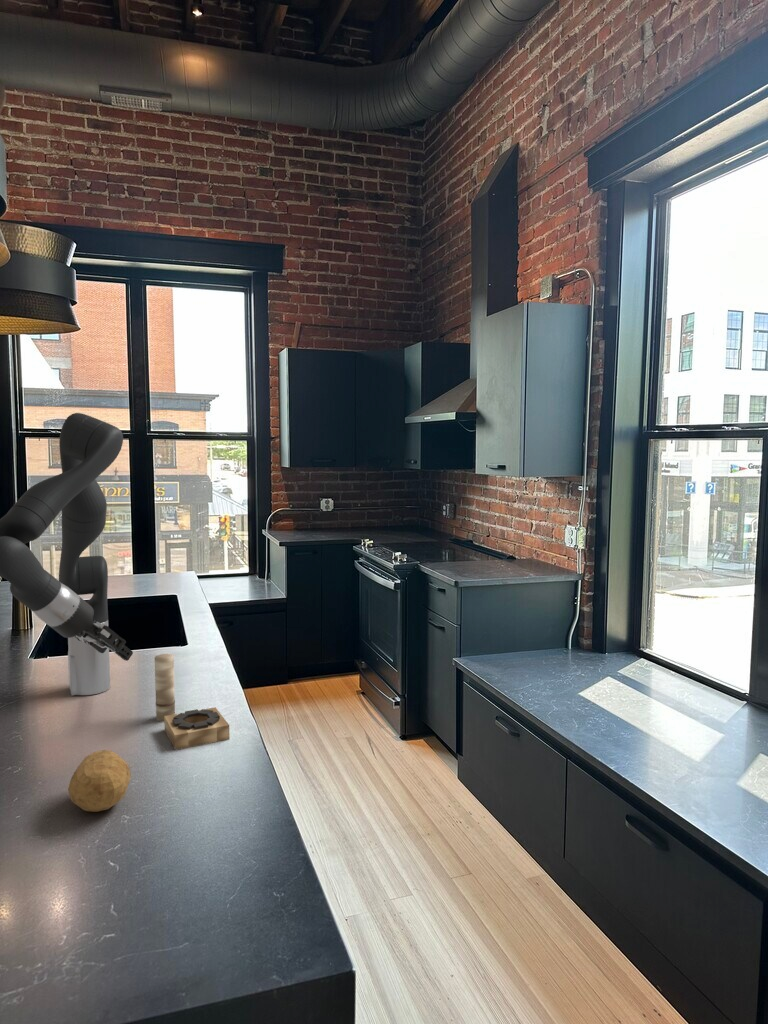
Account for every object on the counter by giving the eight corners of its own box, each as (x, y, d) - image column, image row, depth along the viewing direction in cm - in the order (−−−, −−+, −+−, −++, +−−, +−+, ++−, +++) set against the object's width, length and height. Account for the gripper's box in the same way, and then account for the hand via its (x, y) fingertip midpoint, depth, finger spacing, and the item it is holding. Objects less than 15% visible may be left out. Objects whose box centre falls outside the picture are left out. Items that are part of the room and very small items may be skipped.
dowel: (157, 722, 153) (156, 660, 151) (154, 716, 156) (152, 655, 155) (177, 719, 155) (175, 657, 153) (173, 713, 158) (171, 652, 157)
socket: (175, 749, 139) (174, 732, 139) (164, 729, 149) (164, 713, 149) (229, 739, 145) (229, 722, 144) (215, 720, 154) (215, 704, 154)
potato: (130, 780, 127) (129, 737, 126) (132, 819, 114) (131, 772, 113) (71, 789, 123) (69, 746, 123) (67, 830, 110) (65, 782, 110)
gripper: (95, 597, 132) (149, 643, 142) (54, 588, 140) (108, 632, 150) (70, 631, 128) (126, 675, 138) (29, 619, 136) (86, 662, 147)
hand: (117, 652), depth 144 cm, fingers open, 8 cm apart
